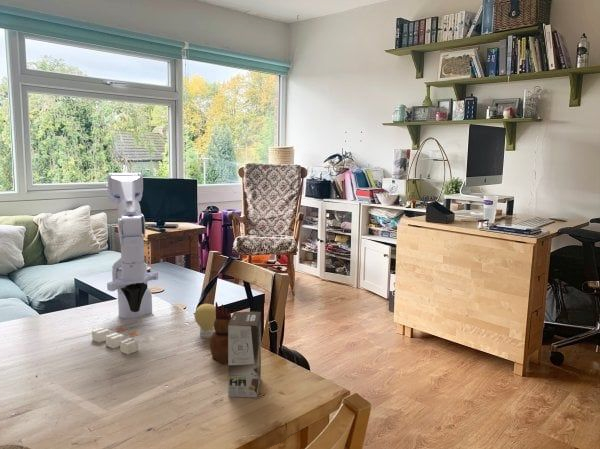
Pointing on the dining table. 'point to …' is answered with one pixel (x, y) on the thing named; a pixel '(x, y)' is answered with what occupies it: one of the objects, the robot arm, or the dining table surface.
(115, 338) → the slider middle
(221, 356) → the wooden figurine
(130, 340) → the slider
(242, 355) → the coffee box
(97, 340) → the slider
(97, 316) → the dining table surface
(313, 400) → the dining table surface
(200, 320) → the light bulb
